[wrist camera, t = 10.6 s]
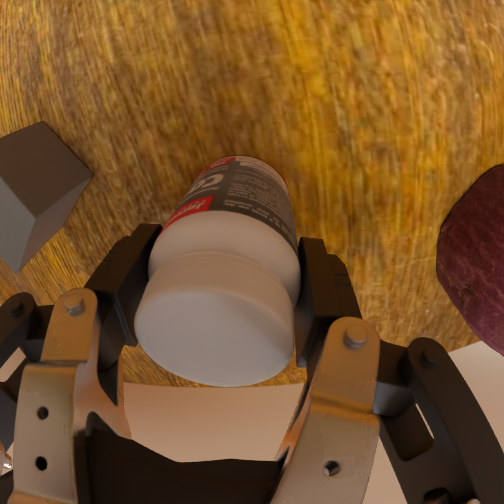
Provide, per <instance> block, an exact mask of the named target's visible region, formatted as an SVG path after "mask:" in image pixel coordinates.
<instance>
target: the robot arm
mask: <svg viewBox="0 0 504 504" xmlns="http://www.w3.org/2000/svg"><path fill="white" fill-rule="evenodd" d="M162 230H163V227H162V225H160V224H147V223H141V224H139V226H138V227H137V228H136V229H135V231H134V232H133V233H132V235H131V236H126V237H124V238H123V239H121V240H120V241H118V242H117V243H115V245H114V246H113V247H112V249H111V250H110V251H109V254H107V255H106V256H105V258H104V259H103V262H101V263H100V265H99V266H98V267H97V269H96V270H95V272H94V273H93V274H92V276H91V277H90V279H89V280H88V282H87V283H86V284H85V286H84V287H83V288H74V289H71V290H69V291H67V292H65V293H64V294H62V295H61V296H60V297H59V298H58V300H57V301H56V303H55V305H45V306H37V304H36V302H35V300H34V298H33V296H32V295H31V294H29V293H27V292H21V293H18V294H15V295H13V296H12V297H10V298H9V299H8V300H7V301H6V302H5V303H4V304H3V305H2V306H1V307H0V368H1V367H2V366H3V364H4V363H5V362H6V361H7V360H8V358H9V357H10V356H11V355H12V354H13V353H14V351H15V350H16V349H17V348H18V347H19V348H20V349H21V351H22V352H23V353H24V354H25V356H26V358H25V359H24V360H23V361H22V363H21V364H20V365H19V366H18V368H17V369H16V370H15V371H14V372H13V374H12V375H11V376H10V377H9V379H8V380H7V381H5V382H0V504H362V502H363V499H364V496H365V492H366V489H367V485H368V482H369V478H370V474H371V470H372V466H373V462H374V457H375V452H376V448H377V443H378V437H380V439H381V441H382V443H383V446H384V448H385V450H386V453H387V455H388V457H389V460H390V462H391V464H392V467H393V469H394V471H395V474H396V476H397V479H398V481H399V484H400V486H401V489H402V491H403V493H404V496H405V499H406V501H407V504H504V453H503V451H502V449H501V446H500V444H499V442H498V440H497V438H496V436H495V434H494V432H493V430H492V428H491V426H490V424H489V422H488V420H487V418H486V416H485V414H484V413H483V411H482V409H481V407H480V405H479V404H478V402H477V400H476V398H475V397H474V395H473V393H472V391H471V390H470V388H469V387H468V385H467V383H466V381H465V380H464V378H463V377H462V375H461V373H460V372H459V370H458V369H457V367H456V366H455V364H454V362H453V361H452V359H451V358H450V356H449V355H448V353H447V352H446V350H445V349H444V348H443V347H442V346H441V345H440V344H439V343H438V342H436V341H435V340H433V339H430V338H426V337H420V338H417V339H415V340H413V341H412V342H411V344H410V345H409V346H408V348H406V347H402V346H398V345H395V344H391V343H388V342H385V341H382V340H380V337H379V335H378V333H377V331H376V330H375V328H374V327H373V326H372V325H370V324H369V323H368V322H366V321H364V320H363V319H362V316H361V313H360V309H359V306H358V303H357V300H356V297H355V293H354V290H353V287H352V286H351V281H350V278H349V277H348V272H347V269H346V266H345V264H344V263H343V262H342V261H341V260H340V259H339V258H338V256H337V255H333V254H327V251H326V248H325V245H324V241H323V239H318V238H308V237H301V238H300V241H299V245H298V252H299V259H300V265H301V290H300V295H299V298H298V301H297V303H296V305H295V307H294V309H293V311H294V330H295V346H296V363H297V367H307V379H306V381H305V384H304V386H303V389H302V392H301V395H300V398H299V401H298V403H297V406H296V409H295V411H294V414H293V417H292V419H291V422H290V425H289V427H288V430H287V433H286V435H285V437H284V439H283V441H282V443H281V445H280V447H279V449H278V451H277V454H276V456H275V458H274V460H273V461H254V460H240V459H239V460H238V459H223V460H213V461H201V462H183V463H182V462H176V461H173V460H171V459H168V458H167V457H164V456H162V455H160V454H158V453H156V452H154V451H152V450H150V449H149V448H147V447H144V446H143V445H141V444H139V443H137V442H136V441H134V440H132V439H131V432H130V427H129V424H128V421H127V418H126V416H125V411H124V398H123V357H122V355H121V351H122V348H123V346H124V345H128V346H132V347H136V345H137V342H138V340H137V337H136V335H135V330H134V319H135V315H136V311H137V309H138V306H139V304H140V301H141V299H142V297H143V294H144V292H145V289H146V286H147V284H148V282H149V278H148V263H149V258H150V254H151V251H152V249H153V246H154V244H155V241H156V239H157V238H158V236H159V234H160V233H161V231H162ZM416 404H418V406H419V408H420V410H421V411H422V414H423V416H424V418H425V419H426V421H427V423H428V425H429V427H430V429H431V431H432V434H433V437H434V439H433V438H432V436H431V435H430V433H429V431H428V429H427V427H426V425H425V423H424V421H423V419H422V417H421V415H420V413H419V411H418V409H417V407H416ZM13 441H14V448H13V469H12V470H11V471H9V472H7V473H5V474H4V475H2V476H1V473H2V468H3V467H4V468H6V469H9V468H10V467H11V465H12V460H11V457H10V456H9V455H8V454H7V453H6V452H7V450H8V449H9V447H10V446H11V444H12V443H13ZM327 474H329V476H328V475H327Z"/></svg>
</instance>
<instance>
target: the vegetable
mask: <svg viewBox="0 0 504 504" xmlns="http://www.w3.org/2000/svg"><path fill="white" fill-rule="evenodd" d="M437 274H438V279H439V281H440V283H441V285H442V286H443V288H444V290H445V291H446V292H447V294H448V296H449V298H450V299H451V301H452V303H453V304H454V306H455V307H456V308H457V309H458V310H459V312H460V313H461V315H462V316H463V318H464V319H465V321H466V322H467V324H468V325H469V327H470V328H471V329H472V331H473V332H474V333H475V334H476V335H477V336H478V337H479V338H480V339H481V340H482V341H483V342H485V343H486V344H487V345H488V346H490V347H491V348H492V349H493V350H495V351H497V352H499V353H500V354H501V355H502V356H504V165H500V166H497V167H495V168H493V169H491V170H490V171H489V172H487V173H486V174H484V175H483V176H482V177H481V178H480V179H479V180H478V181H477V182H476V183H475V184H474V186H472V188H471V189H470V190H469V191H468V192H467V193H466V195H465V196H464V197H463V198H462V199H461V200H460V201H459V202H458V204H457V205H455V207H454V208H453V210H452V211H451V214H450V216H449V217H448V219H447V221H446V222H445V223H444V224H443V226H442V228H441V234H440V236H439V243H438V254H437Z"/></svg>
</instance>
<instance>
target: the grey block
mask: <svg viewBox="0 0 504 504" xmlns="http://www.w3.org/2000/svg"><path fill="white" fill-rule="evenodd" d="M92 176H93V173H92V172H91V171H90V170H89V169H88V168H87V167H86V166H85V165H84V164H83V163H82V162H81V161H80V160H79V159H78V158H77V157H76V156H75V155H74V154H73V153H72V152H71V151H70V149H69V148H68V147H67V146H66V145H65V144H64V143H63V142H62V141H61V140H60V139H59V138H58V137H57V136H56V134H55V133H54V132H53V131H52V130H51V129H50V128H49V127H48V126H47V125H46V123H45V122H44V121H41V122H38V123H35V124H33V125H30V126H27V127H25V128H22V129H20V130H17V131H15V132H13V133H10V134H8V135H6V136H3V137H1V138H0V257H1V258H2V259H3V260H4V262H5V263H6V264H7V265H8V266H9V267H10V268H11V269H12V270H13V271H14V272H15V273H16V274H18V273H19V272H20V271H21V269H22V268H23V267H24V266H25V265H26V264H27V263H28V262H29V261H30V259H31V258H32V257H33V256H34V255H35V254H36V253H37V252H38V251H39V250H40V249H41V248H42V247H43V246H44V245H45V244H46V243H47V242H48V241H49V240H50V239H51V238H52V237H53V236H54V235H55V234H56V233H57V232H58V231H59V230H60V229H61V228H62V226H63V225H64V223H65V221H66V219H67V217H68V215H69V214H70V212H71V210H72V208H73V207H74V205H75V203H76V202H77V200H78V198H79V197H80V195H81V193H82V192H83V190H84V189H85V187H86V186H87V184H88V182H89V181H90V179H91V178H92Z"/></svg>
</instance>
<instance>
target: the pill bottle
mask: <svg viewBox="0 0 504 504" xmlns="http://www.w3.org/2000/svg"><path fill="white" fill-rule="evenodd" d="M148 278H149V282H148V284H147V286H146V289H145V292H144V294H143V297H142V299H141V301H140V304H139V306H138V309H137V311H136V315H135V319H134V330H135V335H136V337H137V340H138V342H139V344H140V345H141V347H142V348H143V350H144V351H145V352H146V353H147V355H148V356H149V357H150V358H151V359H152V360H154V361H155V362H156V363H157V364H159V365H160V366H161V367H163V368H164V369H166V370H168V371H169V372H171V373H173V374H175V375H178V376H180V377H182V378H185V379H187V380H190V381H193V382H197V383H201V384H206V385H212V386H221V387H237V386H247V385H251V384H255V383H259V382H262V381H265V380H267V379H270V378H272V377H273V376H275V375H277V374H278V373H279V372H281V371H282V370H283V369H284V368H285V367H286V366H287V364H288V363H289V362H290V360H291V357H292V355H293V351H294V311H293V309H294V307H295V305H296V303H297V301H298V298H299V295H300V290H301V265H300V259H299V252H298V245H297V238H296V231H295V225H294V219H293V213H292V207H291V201H290V195H289V192H288V189H287V186H286V184H285V182H284V181H283V179H282V178H281V176H280V175H279V174H278V173H277V172H276V171H275V170H274V169H273V168H272V167H271V166H269V165H268V164H266V163H265V162H263V161H261V160H258V159H255V158H252V157H247V156H230V157H226V158H222V159H220V160H217V161H215V162H213V163H212V164H210V165H209V166H208V167H206V168H205V169H204V170H203V171H202V172H201V173H200V174H199V176H198V177H197V178H196V180H195V181H194V183H193V184H192V186H191V187H190V189H189V190H188V192H187V193H186V194H185V196H184V198H183V199H182V201H181V202H180V203H179V205H178V207H177V208H176V210H175V211H174V213H173V214H172V216H171V217H170V219H169V220H168V222H167V223H166V225H165V226H164V228H163V230H162V231H161V233H160V234H159V236H158V238H157V239H156V241H155V244H154V246H153V249H152V251H151V254H150V258H149V263H148Z"/></svg>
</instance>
